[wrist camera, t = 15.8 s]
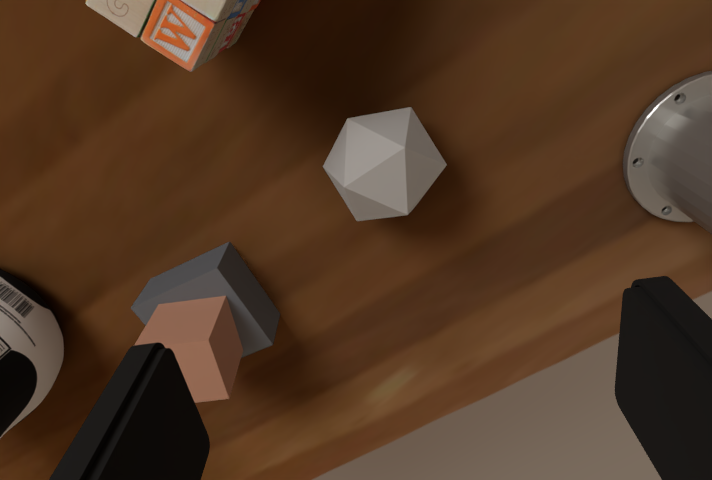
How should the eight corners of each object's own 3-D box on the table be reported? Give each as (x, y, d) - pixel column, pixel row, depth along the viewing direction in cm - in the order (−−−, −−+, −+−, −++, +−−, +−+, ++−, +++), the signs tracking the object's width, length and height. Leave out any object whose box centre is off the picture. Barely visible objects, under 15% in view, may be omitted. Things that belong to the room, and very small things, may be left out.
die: (311, 166, 44) (348, 259, 40) (315, 87, 37) (362, 189, 33) (397, 148, 47) (443, 234, 42) (417, 71, 40) (474, 164, 35)
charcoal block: (230, 240, 47) (216, 267, 43) (280, 312, 51) (273, 344, 47) (151, 277, 49) (130, 308, 45) (205, 344, 53) (191, 378, 49)
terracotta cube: (225, 295, 44) (208, 339, 39) (243, 350, 47) (229, 398, 42) (158, 304, 45) (131, 349, 39) (179, 357, 47) (157, 406, 42)
